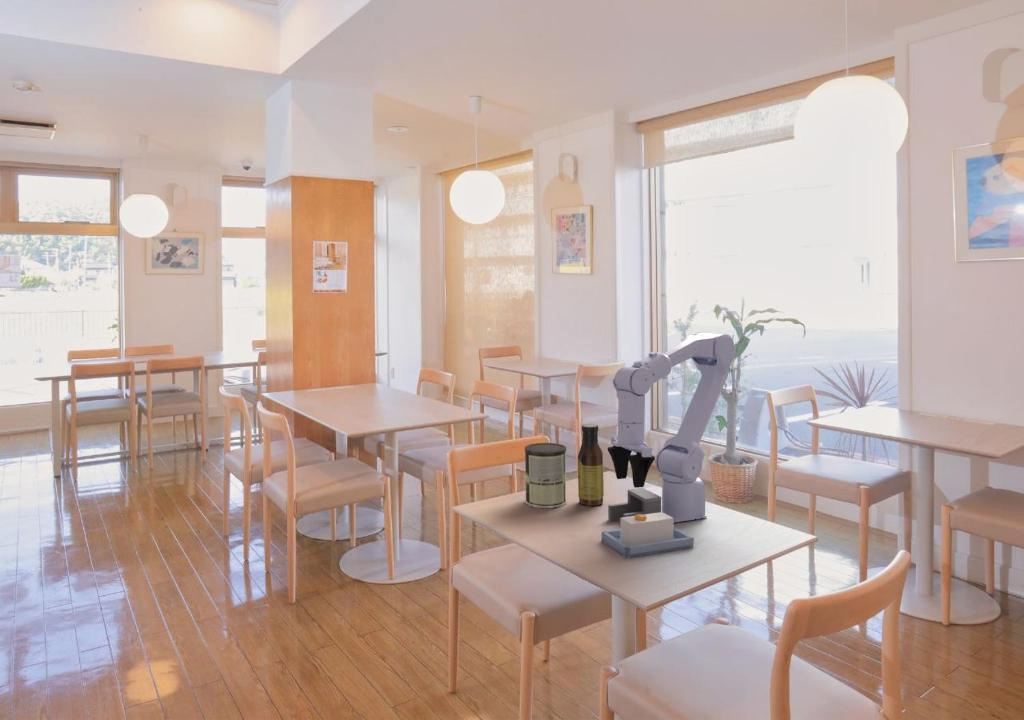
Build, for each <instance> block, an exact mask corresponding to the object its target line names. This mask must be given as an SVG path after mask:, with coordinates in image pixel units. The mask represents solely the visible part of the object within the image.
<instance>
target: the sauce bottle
mask: <svg viewBox="0 0 1024 720" xmlns="http://www.w3.org/2000/svg"><path fill="white" fill-rule="evenodd" d="M581 432H582V440H581V441H582V443H581V445H580V448H579V451H578V455H577V481H578V484H577V485H578V486H577V487H578V489H577V491H578V499H579V503H580V504H581V505H584V506H591V507H596V506H600V505H603V503H604V496H605V494H604V492H605V491H604V489H605V487H604V486H605V485H604V482H605V481H604V480H605V479H604V461H603V460H604V458H603V457H604V452H603V449H602V448H601V447H600V445H599V439H598V434H599V433H598V432H599V425H598V424H596V423H584V424H582V425H581Z"/></svg>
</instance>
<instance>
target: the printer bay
mask: <svg viewBox="0 0 1024 720" xmlns="http://www.w3.org/2000/svg"><path fill="white" fill-rule="evenodd" d="M607 507H608V513H607V514H608V521H609V522H613V521H614V522H615V521H620V518H622V517H630V516H635V515H637V514H643V515H644V514H651V513H659V512H661V510H662V496H660V495H658V494H656V493H654V492H652V491H650V490H647V489H646V488H644V487H638V488H631V489H630V488H629V489H627V502H623V503H622V502H620V503H613V504H608V506H607Z"/></svg>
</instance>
